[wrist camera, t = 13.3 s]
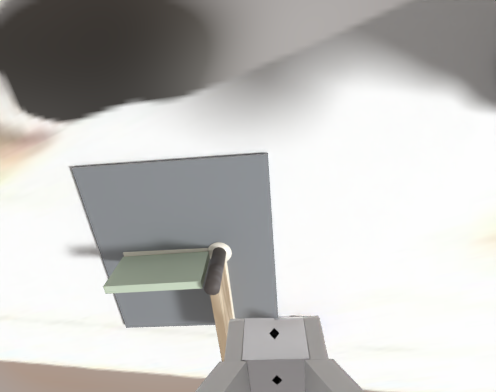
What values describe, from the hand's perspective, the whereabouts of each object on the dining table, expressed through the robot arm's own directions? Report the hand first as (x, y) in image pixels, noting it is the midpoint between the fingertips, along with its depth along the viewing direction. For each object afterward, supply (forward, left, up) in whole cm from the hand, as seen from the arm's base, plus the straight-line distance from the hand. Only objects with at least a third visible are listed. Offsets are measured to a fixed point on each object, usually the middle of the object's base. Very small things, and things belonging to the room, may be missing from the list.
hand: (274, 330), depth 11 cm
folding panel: (+16, +18, -30) cm, 39 cm away
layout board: (+13, +18, -31) cm, 38 cm away
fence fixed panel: (+8, +25, -31) cm, 40 cm away
